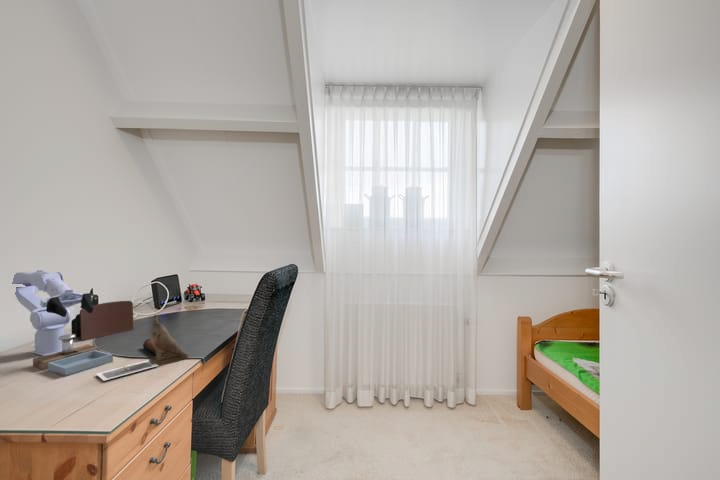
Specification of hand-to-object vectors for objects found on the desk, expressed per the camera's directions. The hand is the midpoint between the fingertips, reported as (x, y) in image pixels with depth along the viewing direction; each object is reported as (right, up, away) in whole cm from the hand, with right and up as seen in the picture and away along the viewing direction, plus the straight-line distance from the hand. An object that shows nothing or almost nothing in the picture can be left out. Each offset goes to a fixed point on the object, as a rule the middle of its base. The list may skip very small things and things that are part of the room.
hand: (78, 312), depth 120 cm
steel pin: (-5, -17, +2) cm, 18 cm away
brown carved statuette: (+30, -17, +1) cm, 35 cm away
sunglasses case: (+23, -17, +11) cm, 31 cm away
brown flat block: (-5, -17, +2) cm, 18 cm away
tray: (+4, -17, -4) cm, 18 cm away
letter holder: (-16, -16, +33) cm, 40 cm away
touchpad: (+22, -18, -9) cm, 30 cm away
